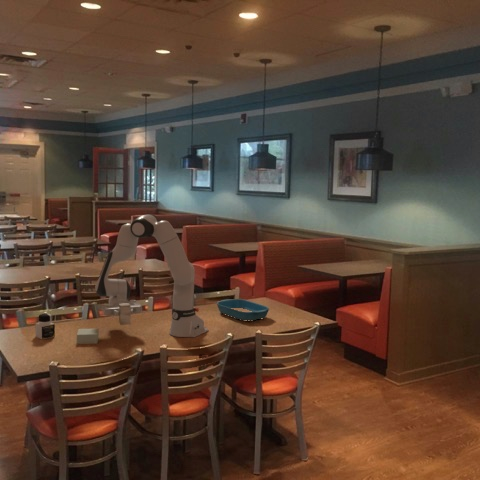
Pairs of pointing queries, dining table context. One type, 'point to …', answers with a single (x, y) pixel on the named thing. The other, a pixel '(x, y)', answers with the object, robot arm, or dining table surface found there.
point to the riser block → (87, 336)
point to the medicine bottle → (45, 327)
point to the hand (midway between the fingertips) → (125, 313)
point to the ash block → (124, 314)
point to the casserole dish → (256, 309)
